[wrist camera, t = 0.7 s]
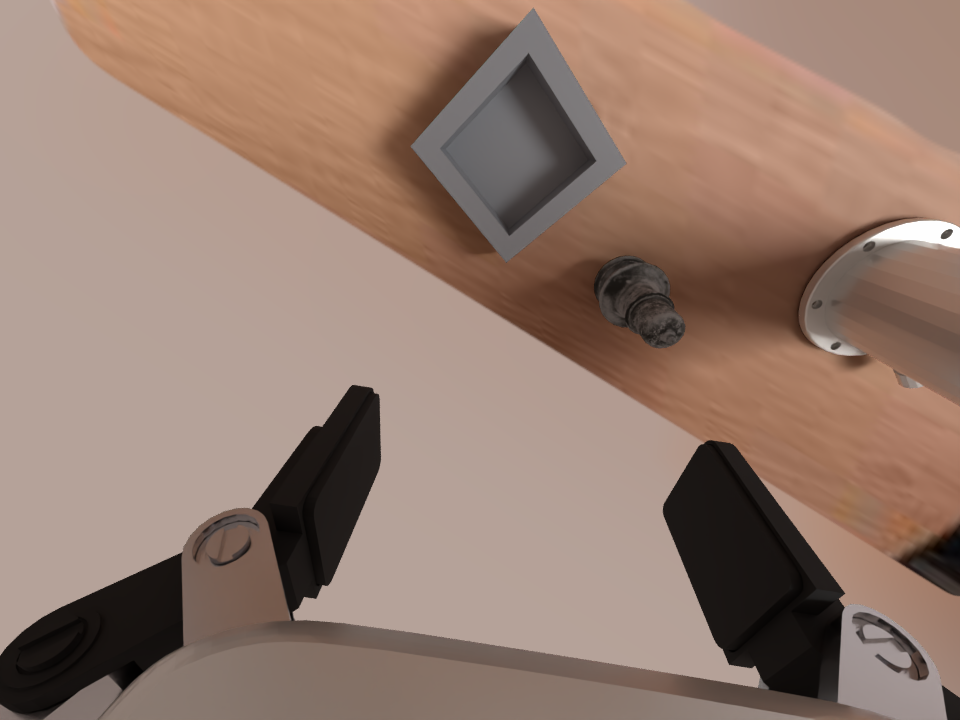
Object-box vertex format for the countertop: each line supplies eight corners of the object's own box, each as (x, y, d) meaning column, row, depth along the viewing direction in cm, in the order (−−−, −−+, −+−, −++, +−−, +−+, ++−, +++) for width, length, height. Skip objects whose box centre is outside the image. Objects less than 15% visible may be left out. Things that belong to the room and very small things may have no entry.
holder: (612, 161, 29) (626, 163, 26) (506, 250, 33) (506, 262, 30) (529, 27, 25) (533, 7, 22) (421, 146, 29) (410, 146, 26)
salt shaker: (650, 310, 35) (710, 377, 25) (588, 314, 36) (622, 380, 25) (660, 249, 32) (732, 297, 22) (593, 254, 33) (633, 302, 22)
